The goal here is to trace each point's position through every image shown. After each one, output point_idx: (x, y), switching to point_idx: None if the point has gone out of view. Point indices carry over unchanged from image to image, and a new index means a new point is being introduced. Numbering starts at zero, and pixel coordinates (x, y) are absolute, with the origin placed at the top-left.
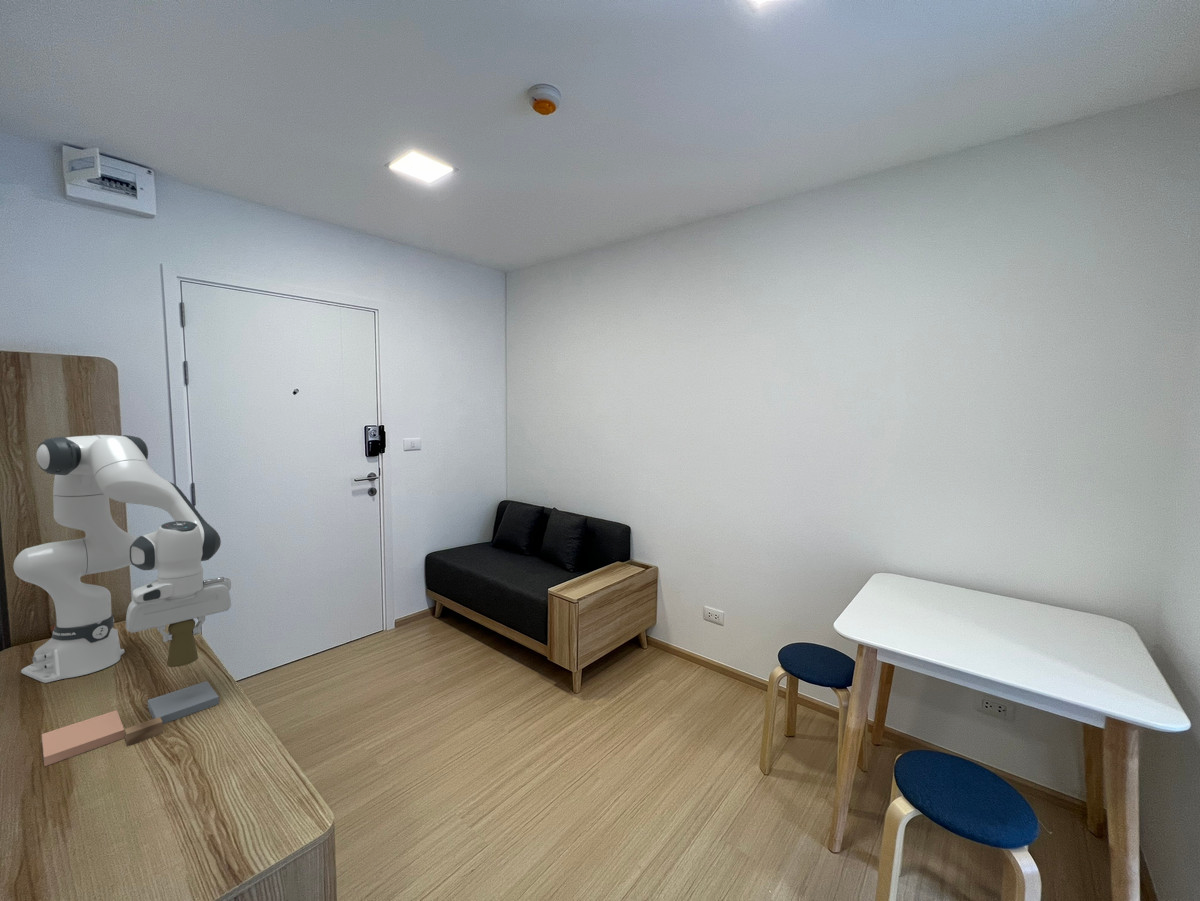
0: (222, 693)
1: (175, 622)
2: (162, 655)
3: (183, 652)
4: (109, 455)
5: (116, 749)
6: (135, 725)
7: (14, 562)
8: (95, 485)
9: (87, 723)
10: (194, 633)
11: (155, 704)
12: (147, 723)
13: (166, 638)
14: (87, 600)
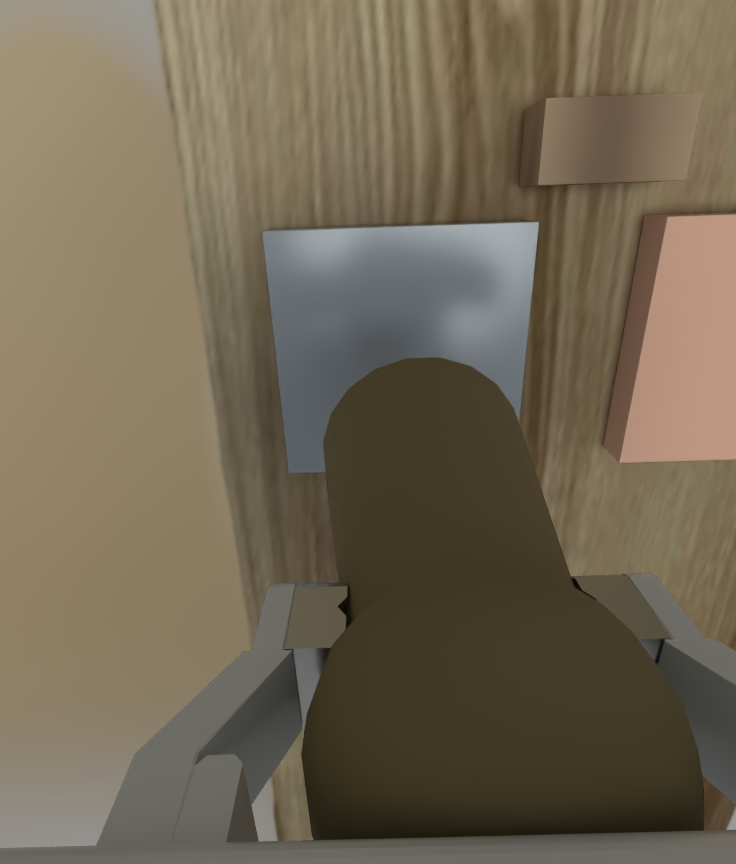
0: (244, 344)
1: (706, 837)
2: None
3: (448, 414)
4: None
5: (700, 112)
6: (642, 179)
7: None
8: None
9: (727, 420)
10: (331, 587)
11: (503, 392)
12: (601, 146)
13: (652, 604)
14: None
